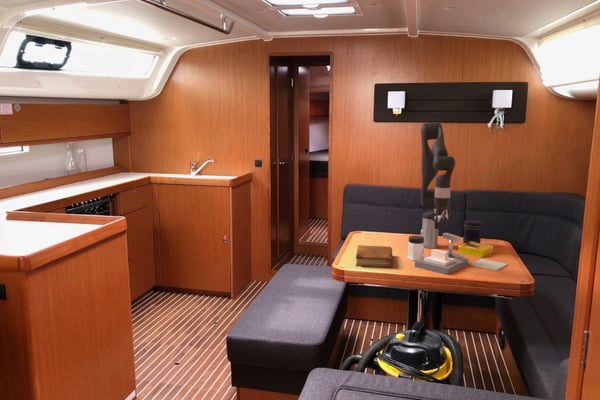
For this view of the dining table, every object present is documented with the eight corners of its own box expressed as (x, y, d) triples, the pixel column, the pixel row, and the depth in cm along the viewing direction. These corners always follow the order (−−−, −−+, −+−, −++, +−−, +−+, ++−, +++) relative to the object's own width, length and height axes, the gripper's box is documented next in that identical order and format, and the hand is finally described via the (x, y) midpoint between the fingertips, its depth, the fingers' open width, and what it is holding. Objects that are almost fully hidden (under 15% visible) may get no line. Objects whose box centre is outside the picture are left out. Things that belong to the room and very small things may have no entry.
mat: (469, 265, 251) (469, 264, 251) (481, 259, 261) (481, 258, 261) (496, 271, 241) (496, 269, 241) (507, 265, 251) (507, 263, 251)
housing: (414, 266, 248) (415, 260, 248) (436, 257, 265) (437, 251, 264) (447, 274, 236) (447, 268, 235) (468, 264, 252) (468, 258, 252)
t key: (461, 260, 247) (462, 239, 246) (442, 253, 260) (443, 233, 258) (464, 259, 249) (465, 238, 247) (445, 252, 261) (446, 232, 259)
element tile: (456, 253, 275) (456, 244, 275) (469, 248, 286) (469, 240, 285) (481, 258, 265) (482, 250, 264) (494, 253, 275) (494, 245, 274)
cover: (423, 261, 248) (424, 250, 247) (433, 257, 255) (433, 246, 254) (445, 265, 240) (445, 255, 239) (454, 261, 247) (455, 251, 246)
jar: (421, 256, 267) (422, 235, 265) (425, 260, 259) (426, 239, 257) (405, 256, 267) (406, 235, 265) (408, 260, 259) (409, 239, 257)
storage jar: (483, 246, 288) (485, 221, 286) (473, 248, 283) (474, 223, 280) (469, 242, 296) (471, 218, 294) (459, 245, 291) (460, 220, 288)
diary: (392, 269, 246) (392, 258, 245) (355, 267, 250) (355, 256, 248) (391, 256, 269) (391, 246, 268) (357, 254, 272) (358, 244, 271)
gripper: (442, 198, 234) (440, 231, 237) (456, 195, 244) (454, 226, 247) (428, 196, 240) (426, 228, 242) (442, 193, 250) (440, 224, 252)
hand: (440, 227), depth 245 cm, fingers open, 8 cm apart
